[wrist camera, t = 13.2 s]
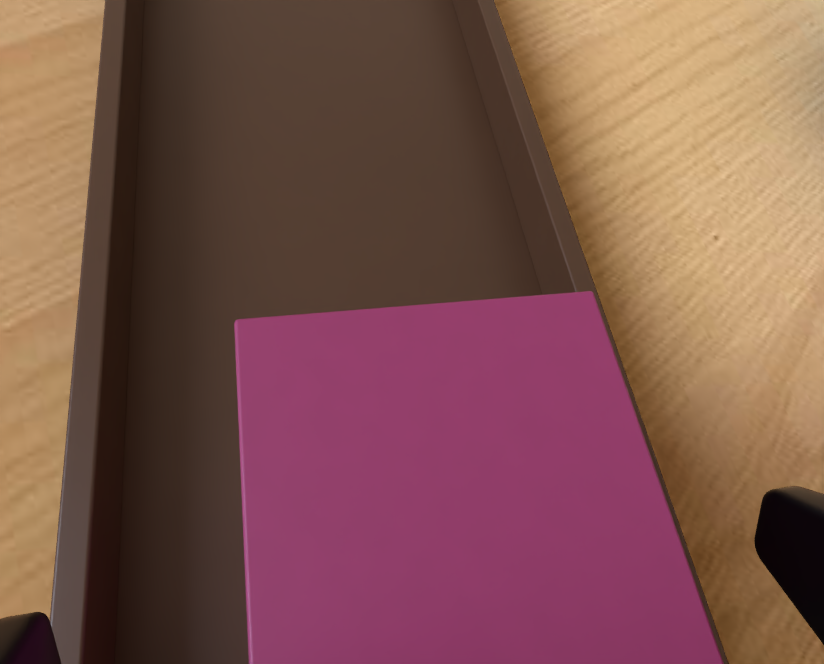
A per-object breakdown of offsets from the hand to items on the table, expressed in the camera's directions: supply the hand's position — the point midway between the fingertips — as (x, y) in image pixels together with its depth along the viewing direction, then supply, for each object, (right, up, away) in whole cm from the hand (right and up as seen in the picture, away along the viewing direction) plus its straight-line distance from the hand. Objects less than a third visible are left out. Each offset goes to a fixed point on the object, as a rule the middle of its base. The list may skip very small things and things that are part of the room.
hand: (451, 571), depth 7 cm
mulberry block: (-1, -2, +6) cm, 6 cm away
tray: (-4, +12, +13) cm, 19 cm away
